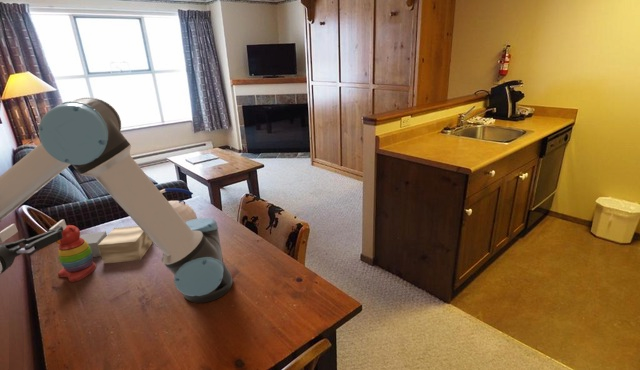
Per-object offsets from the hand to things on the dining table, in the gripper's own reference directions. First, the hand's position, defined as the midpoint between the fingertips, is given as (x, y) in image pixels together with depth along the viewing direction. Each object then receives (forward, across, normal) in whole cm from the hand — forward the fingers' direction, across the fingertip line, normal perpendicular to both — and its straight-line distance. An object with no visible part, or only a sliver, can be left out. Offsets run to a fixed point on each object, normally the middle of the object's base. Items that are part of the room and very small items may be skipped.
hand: (39, 225), depth 103 cm
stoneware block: (+24, -1, -23) cm, 33 cm away
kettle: (+39, +26, -23) cm, 52 cm away
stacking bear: (+10, +1, -24) cm, 25 cm away
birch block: (+20, +14, -23) cm, 34 cm away
